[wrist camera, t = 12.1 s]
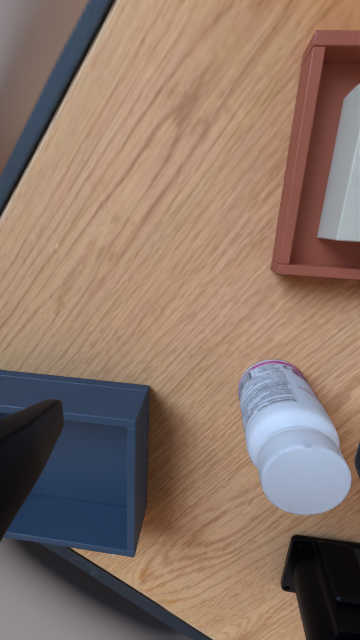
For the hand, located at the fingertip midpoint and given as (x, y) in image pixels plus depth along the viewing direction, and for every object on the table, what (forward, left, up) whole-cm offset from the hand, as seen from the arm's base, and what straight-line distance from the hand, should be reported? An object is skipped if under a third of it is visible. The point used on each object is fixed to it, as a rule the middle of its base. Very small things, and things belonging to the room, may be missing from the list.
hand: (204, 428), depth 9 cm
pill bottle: (-5, -5, -12) cm, 14 cm away
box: (-12, +11, -12) cm, 20 cm away
